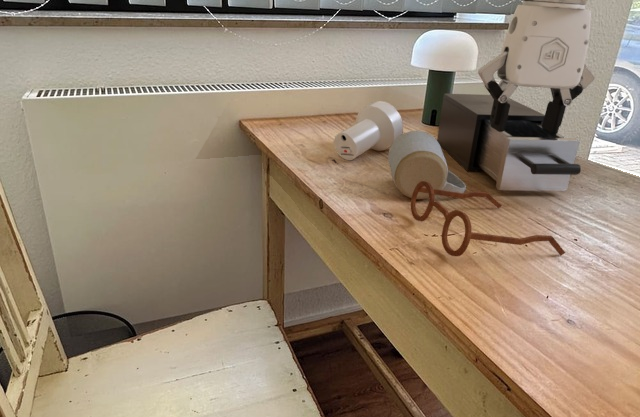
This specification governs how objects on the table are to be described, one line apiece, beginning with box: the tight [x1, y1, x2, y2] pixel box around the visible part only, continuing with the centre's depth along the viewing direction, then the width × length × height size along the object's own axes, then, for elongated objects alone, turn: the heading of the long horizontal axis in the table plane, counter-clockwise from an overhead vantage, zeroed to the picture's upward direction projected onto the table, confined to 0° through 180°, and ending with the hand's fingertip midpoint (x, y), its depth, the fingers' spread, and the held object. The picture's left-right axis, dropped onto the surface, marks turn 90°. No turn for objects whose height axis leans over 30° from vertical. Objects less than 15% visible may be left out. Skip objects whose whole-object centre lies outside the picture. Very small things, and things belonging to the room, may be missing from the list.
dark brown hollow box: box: [436, 93, 545, 173], centre depth 83 cm, size 16×11×9 cm
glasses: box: [410, 181, 566, 257], centre depth 56 cm, size 13×13×5 cm
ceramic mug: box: [387, 130, 467, 200], centre depth 67 cm, size 11×8×8 cm
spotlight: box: [333, 100, 404, 161], centre depth 82 cm, size 8×11×8 cm
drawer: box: [474, 120, 581, 192], centre depth 71 cm, size 19×10×7 cm, turn 5°
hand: (523, 129), depth 70 cm, fingers open, 7 cm apart
